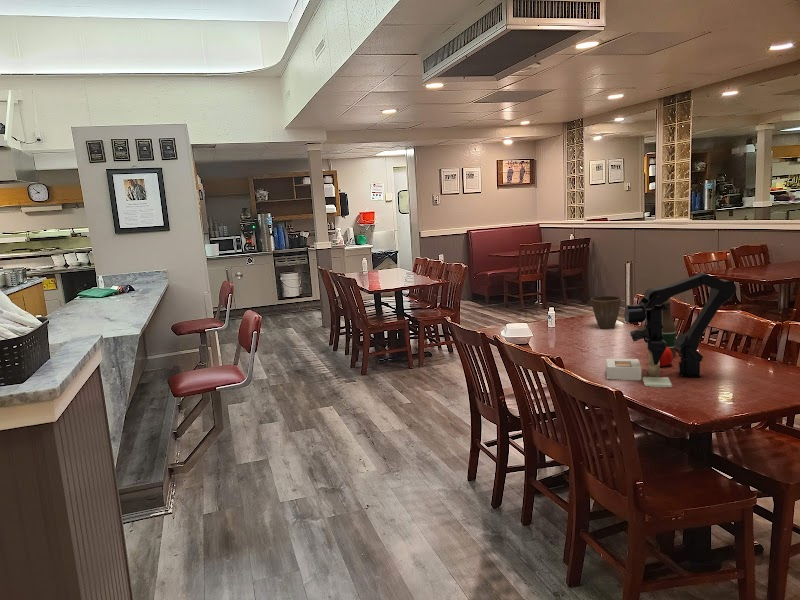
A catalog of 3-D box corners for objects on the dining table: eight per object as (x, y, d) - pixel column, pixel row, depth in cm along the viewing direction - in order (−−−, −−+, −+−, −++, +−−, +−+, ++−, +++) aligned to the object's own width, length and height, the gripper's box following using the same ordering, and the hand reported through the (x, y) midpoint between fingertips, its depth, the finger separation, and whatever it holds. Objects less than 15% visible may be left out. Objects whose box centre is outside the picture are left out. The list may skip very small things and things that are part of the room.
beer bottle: (655, 357, 241) (655, 302, 238) (656, 353, 248) (656, 299, 244) (675, 358, 238) (676, 302, 234) (676, 354, 245) (676, 299, 241)
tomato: (670, 362, 234) (671, 344, 233) (674, 368, 226) (674, 350, 224) (646, 361, 237) (646, 344, 236) (648, 367, 228) (648, 349, 227)
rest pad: (668, 380, 212) (668, 377, 212) (671, 387, 203) (671, 385, 203) (642, 379, 215) (642, 376, 214) (644, 386, 206) (644, 384, 206)
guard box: (638, 371, 225) (638, 358, 224) (641, 380, 213) (641, 367, 212) (606, 370, 228) (606, 358, 227) (607, 379, 217) (607, 366, 216)
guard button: (629, 367, 222) (629, 363, 222) (630, 371, 217) (630, 367, 217) (615, 367, 223) (615, 363, 223) (616, 370, 219) (616, 367, 219)
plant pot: (603, 332, 293) (603, 301, 290) (585, 327, 307) (585, 298, 304) (627, 328, 298) (627, 298, 295) (608, 323, 312) (608, 295, 309)
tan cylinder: (658, 374, 219) (659, 349, 217) (660, 377, 215) (660, 352, 213) (647, 374, 220) (647, 349, 218) (648, 377, 216) (648, 352, 215)
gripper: (629, 317, 225) (629, 354, 228) (633, 327, 208) (633, 368, 210) (659, 316, 222) (659, 355, 224) (666, 327, 204) (666, 368, 207)
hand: (654, 361), depth 216 cm, fingers open, 9 cm apart
